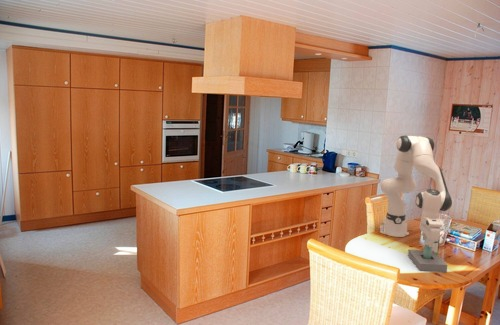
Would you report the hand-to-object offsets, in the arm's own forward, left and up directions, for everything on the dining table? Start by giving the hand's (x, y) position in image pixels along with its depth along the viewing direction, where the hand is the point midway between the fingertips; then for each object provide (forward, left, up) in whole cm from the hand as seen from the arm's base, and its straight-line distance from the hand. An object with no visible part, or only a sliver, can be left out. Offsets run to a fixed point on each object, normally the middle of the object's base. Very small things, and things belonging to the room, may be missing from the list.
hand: (427, 243), depth 216 cm
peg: (0, 0, -12) cm, 12 cm away
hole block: (0, 0, -12) cm, 12 cm away
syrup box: (-16, +8, -12) cm, 21 cm away
